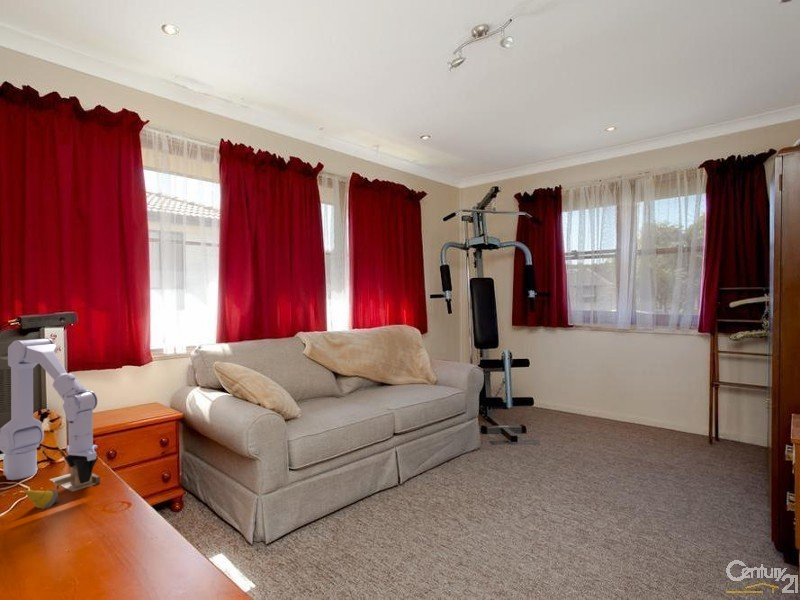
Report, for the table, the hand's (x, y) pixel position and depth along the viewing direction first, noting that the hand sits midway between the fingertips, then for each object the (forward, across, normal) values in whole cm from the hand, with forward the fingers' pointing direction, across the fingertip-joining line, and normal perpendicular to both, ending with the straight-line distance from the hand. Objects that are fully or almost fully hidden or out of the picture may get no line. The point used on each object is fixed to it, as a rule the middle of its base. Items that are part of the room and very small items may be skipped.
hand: (81, 480), depth 128 cm
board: (+2, +5, 0) cm, 5 cm away
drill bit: (+3, -7, +12) cm, 14 cm away
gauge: (+1, 0, +2) cm, 2 cm away
